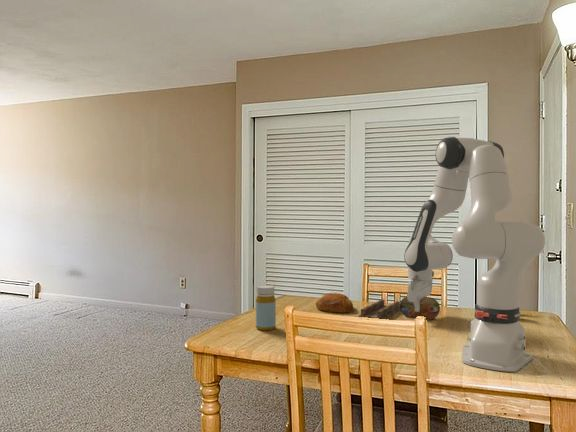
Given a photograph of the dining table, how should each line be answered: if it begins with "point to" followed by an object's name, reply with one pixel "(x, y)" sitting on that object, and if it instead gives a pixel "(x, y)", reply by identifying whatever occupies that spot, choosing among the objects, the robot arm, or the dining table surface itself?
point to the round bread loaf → (334, 303)
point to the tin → (427, 308)
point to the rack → (380, 310)
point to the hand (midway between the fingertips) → (419, 309)
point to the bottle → (265, 308)
